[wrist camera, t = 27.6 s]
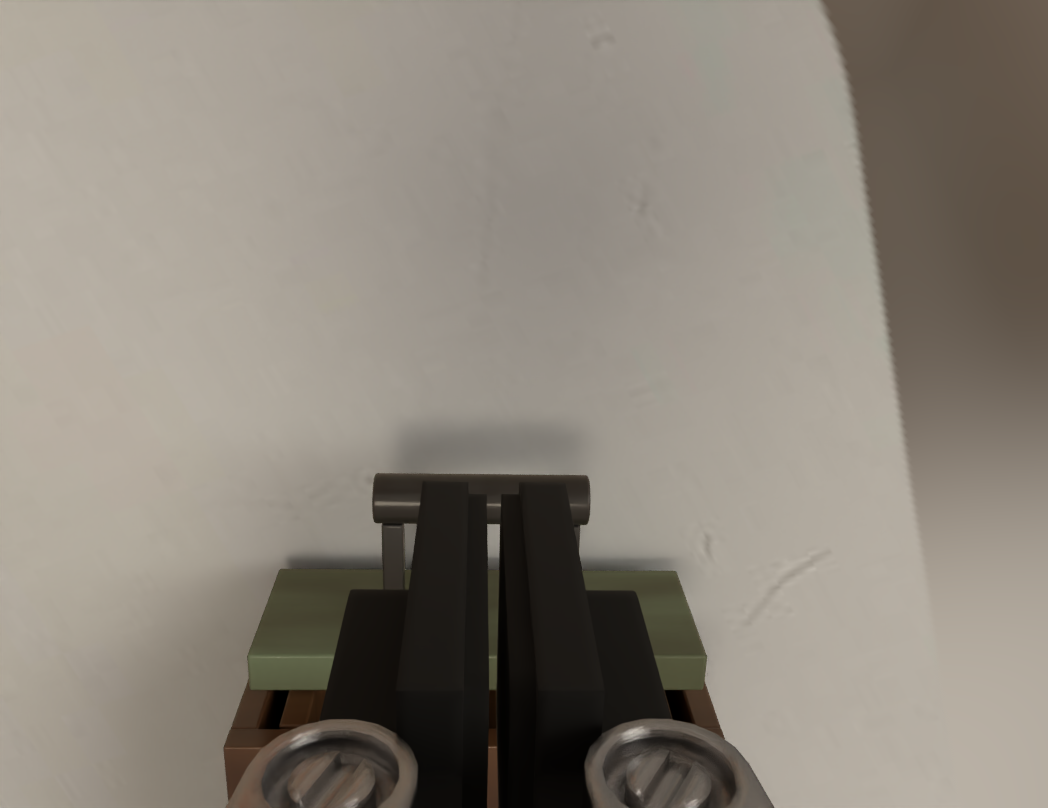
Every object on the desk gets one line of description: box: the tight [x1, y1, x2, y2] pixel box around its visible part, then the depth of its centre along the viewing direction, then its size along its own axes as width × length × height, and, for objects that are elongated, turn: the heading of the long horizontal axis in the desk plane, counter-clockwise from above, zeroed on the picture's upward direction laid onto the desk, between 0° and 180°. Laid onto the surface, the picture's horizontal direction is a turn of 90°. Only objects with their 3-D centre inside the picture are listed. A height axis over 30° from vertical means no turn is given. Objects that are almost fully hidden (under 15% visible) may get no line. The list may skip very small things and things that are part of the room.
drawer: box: [247, 473, 707, 729], centre depth 32 cm, size 18×13×5 cm
